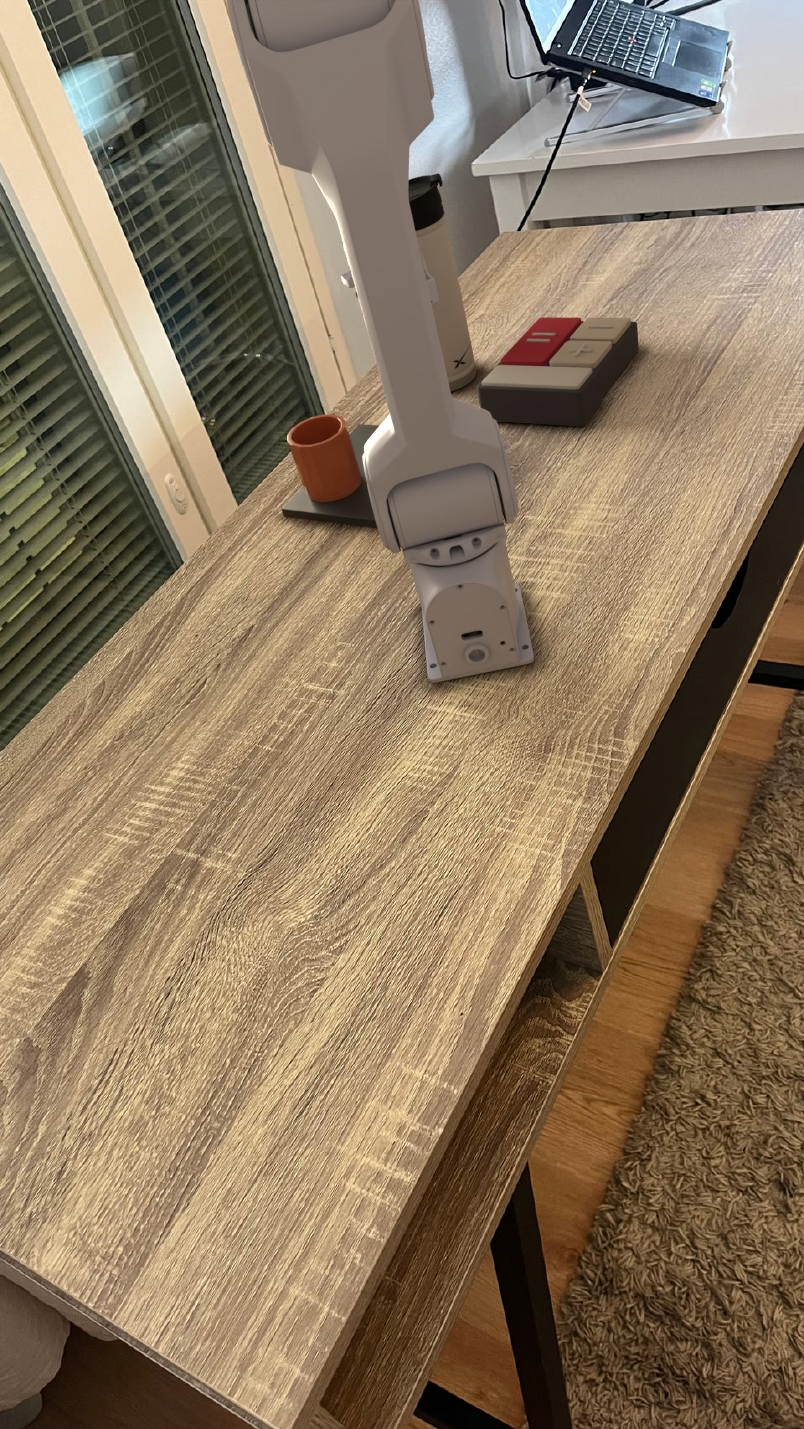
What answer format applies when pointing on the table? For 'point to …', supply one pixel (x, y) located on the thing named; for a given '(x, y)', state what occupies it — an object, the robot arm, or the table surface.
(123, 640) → the table surface
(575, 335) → the calculator
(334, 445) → the cup
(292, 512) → the scale
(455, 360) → the travel mug
